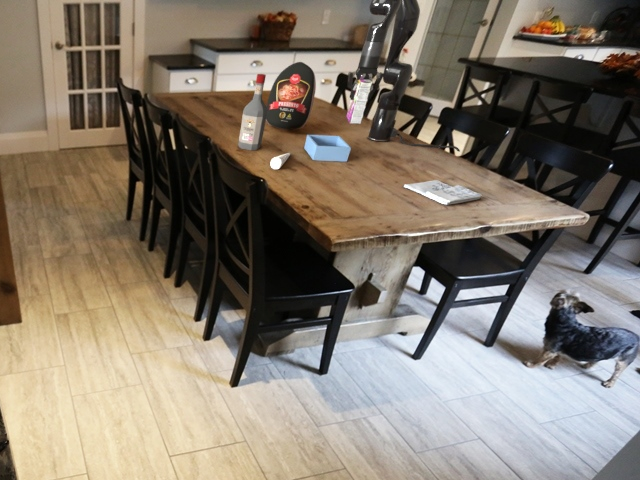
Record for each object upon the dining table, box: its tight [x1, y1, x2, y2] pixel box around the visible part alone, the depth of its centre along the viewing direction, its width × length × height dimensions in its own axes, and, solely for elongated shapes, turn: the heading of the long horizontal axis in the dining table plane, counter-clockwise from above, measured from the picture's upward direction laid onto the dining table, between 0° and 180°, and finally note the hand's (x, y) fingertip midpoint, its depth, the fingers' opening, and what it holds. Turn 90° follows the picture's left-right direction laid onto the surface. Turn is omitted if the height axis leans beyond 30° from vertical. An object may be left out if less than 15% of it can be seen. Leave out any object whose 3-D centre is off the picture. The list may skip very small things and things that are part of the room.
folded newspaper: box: [403, 179, 484, 206], centre depth 187 cm, size 19×20×2 cm
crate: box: [303, 134, 352, 163], centre depth 220 cm, size 15×18×6 cm
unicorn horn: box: [269, 152, 291, 171], centre depth 211 cm, size 5×24×5 cm, turn 147°
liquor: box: [237, 73, 267, 151], centre depth 219 cm, size 9×9×30 cm
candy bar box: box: [346, 77, 374, 125], centre depth 209 cm, size 11×5×16 cm, turn 168°
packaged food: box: [265, 61, 317, 131], centre depth 246 cm, size 22×20×30 cm
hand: (358, 99), depth 208 cm, fingers closed on candy bar box, 5 cm apart
